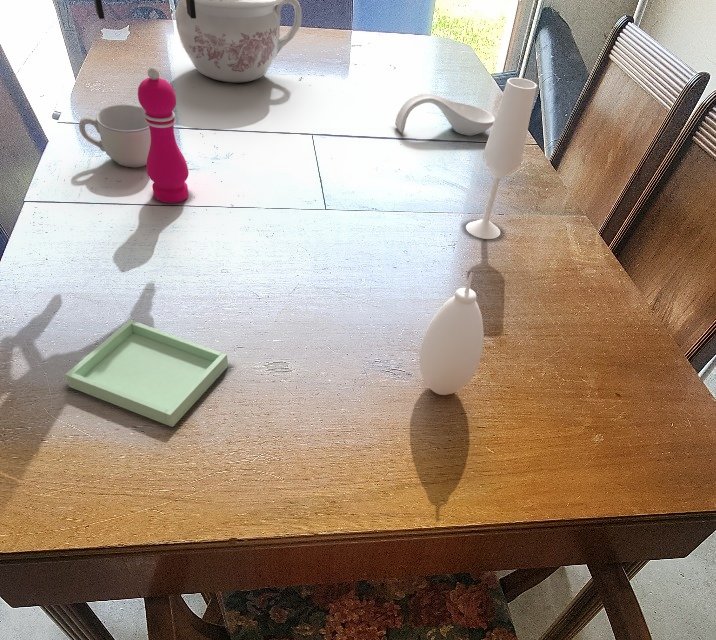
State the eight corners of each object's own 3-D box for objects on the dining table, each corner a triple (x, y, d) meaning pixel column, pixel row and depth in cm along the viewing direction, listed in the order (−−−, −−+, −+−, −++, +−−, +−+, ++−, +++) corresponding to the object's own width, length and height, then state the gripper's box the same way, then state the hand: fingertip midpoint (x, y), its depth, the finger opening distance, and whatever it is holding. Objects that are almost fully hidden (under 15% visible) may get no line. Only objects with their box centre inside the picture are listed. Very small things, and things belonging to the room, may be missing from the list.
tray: (69, 387, 78) (64, 374, 77) (132, 331, 86) (129, 319, 85) (172, 427, 76) (170, 415, 74) (228, 366, 84) (227, 354, 82)
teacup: (165, 151, 123) (159, 106, 116) (158, 175, 116) (151, 129, 110) (94, 146, 121) (83, 100, 115) (82, 170, 114) (71, 123, 108)
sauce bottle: (451, 367, 88) (483, 251, 74) (478, 401, 84) (517, 285, 70) (404, 377, 86) (427, 259, 72) (429, 413, 82) (459, 295, 68)
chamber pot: (153, 75, 147) (136, -37, 130) (212, 47, 163) (204, -56, 147) (255, 103, 142) (251, -10, 126) (306, 72, 158) (308, -32, 142)
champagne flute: (465, 235, 113) (501, 86, 94) (466, 218, 117) (501, 72, 98) (500, 241, 113) (543, 93, 94) (500, 224, 117) (541, 79, 98)
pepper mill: (155, 206, 109) (133, 76, 93) (147, 187, 113) (125, 59, 97) (195, 202, 111) (180, 74, 95) (186, 184, 115) (171, 58, 99)
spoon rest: (480, 120, 149) (488, 86, 143) (499, 140, 142) (508, 106, 137) (389, 120, 143) (394, 85, 138) (405, 141, 137) (410, 106, 131)
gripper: (9, -204, 70) (63, 24, 86) (222, -183, 77) (233, 23, 94) (5, -211, 74) (57, 8, 90) (207, -190, 81) (221, 8, 98)
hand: (147, 16), depth 92 cm, fingers open, 13 cm apart
